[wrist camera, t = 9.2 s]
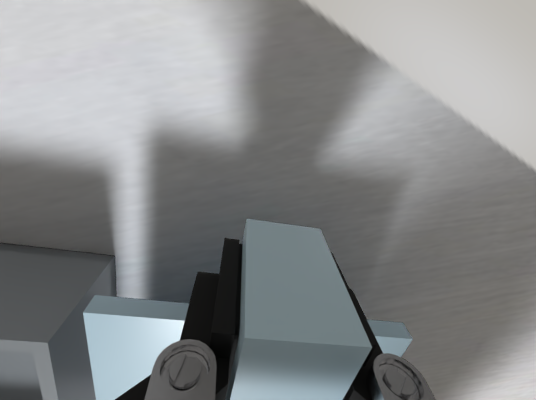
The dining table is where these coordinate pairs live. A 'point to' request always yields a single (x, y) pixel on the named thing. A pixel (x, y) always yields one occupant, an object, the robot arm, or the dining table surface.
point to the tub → (48, 321)
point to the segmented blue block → (253, 325)
